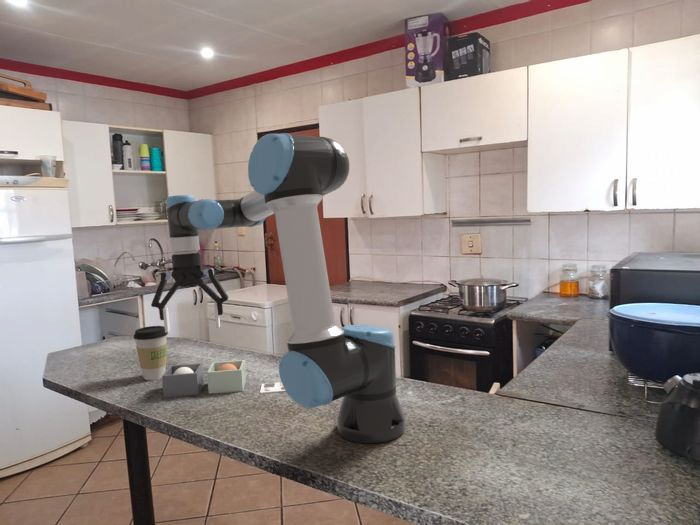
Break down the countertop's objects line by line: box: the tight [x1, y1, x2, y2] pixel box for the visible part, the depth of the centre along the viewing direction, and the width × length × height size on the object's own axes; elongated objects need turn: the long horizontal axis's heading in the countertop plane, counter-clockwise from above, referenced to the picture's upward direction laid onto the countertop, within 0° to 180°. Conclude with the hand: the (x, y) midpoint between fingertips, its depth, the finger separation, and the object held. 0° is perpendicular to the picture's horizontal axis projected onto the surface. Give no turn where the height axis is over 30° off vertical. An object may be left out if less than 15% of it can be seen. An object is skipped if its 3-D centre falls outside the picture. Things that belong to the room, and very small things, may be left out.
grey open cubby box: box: [161, 362, 205, 398], centre depth 142 cm, size 9×9×6 cm
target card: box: [259, 381, 286, 394], centre depth 141 cm, size 7×9×1 cm
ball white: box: [174, 367, 194, 374], centre depth 142 cm, size 6×6×6 cm
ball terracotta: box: [218, 364, 237, 371], centre depth 143 cm, size 6×6×6 cm
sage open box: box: [206, 359, 247, 395], centre depth 144 cm, size 9×9×6 cm
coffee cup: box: [133, 325, 169, 381], centre depth 154 cm, size 10×10×15 cm
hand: (193, 329), depth 140 cm, fingers open, 13 cm apart
